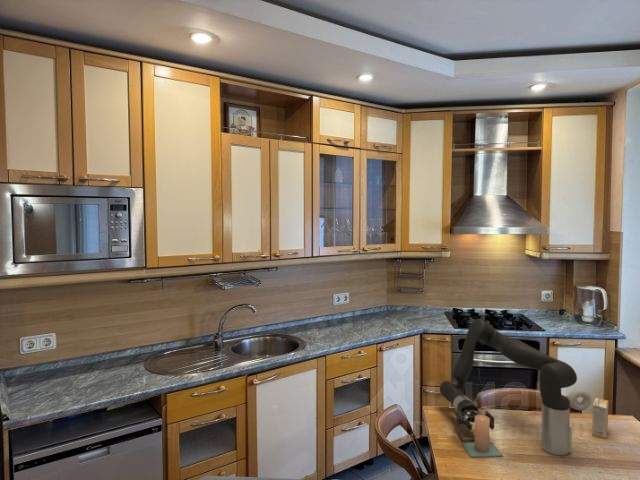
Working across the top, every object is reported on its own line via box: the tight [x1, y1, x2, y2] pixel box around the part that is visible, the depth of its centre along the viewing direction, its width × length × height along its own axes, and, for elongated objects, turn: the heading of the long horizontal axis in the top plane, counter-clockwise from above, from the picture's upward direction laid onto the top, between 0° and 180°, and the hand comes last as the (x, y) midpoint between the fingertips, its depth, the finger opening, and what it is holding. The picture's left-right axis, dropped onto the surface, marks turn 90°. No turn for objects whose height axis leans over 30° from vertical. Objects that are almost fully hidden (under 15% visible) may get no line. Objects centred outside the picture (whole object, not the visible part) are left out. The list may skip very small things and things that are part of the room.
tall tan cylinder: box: [474, 415, 490, 453], centre depth 159 cm, size 5×5×12 cm
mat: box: [461, 441, 504, 459], centre depth 159 cm, size 12×9×1 cm
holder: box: [453, 426, 475, 443], centre depth 170 cm, size 10×10×2 cm
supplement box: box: [591, 397, 609, 440], centre depth 171 cm, size 8×5×13 cm, turn 141°
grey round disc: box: [567, 388, 592, 411], centre depth 191 cm, size 10×3×10 cm, turn 89°
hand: (481, 427), depth 159 cm, fingers open, 8 cm apart
